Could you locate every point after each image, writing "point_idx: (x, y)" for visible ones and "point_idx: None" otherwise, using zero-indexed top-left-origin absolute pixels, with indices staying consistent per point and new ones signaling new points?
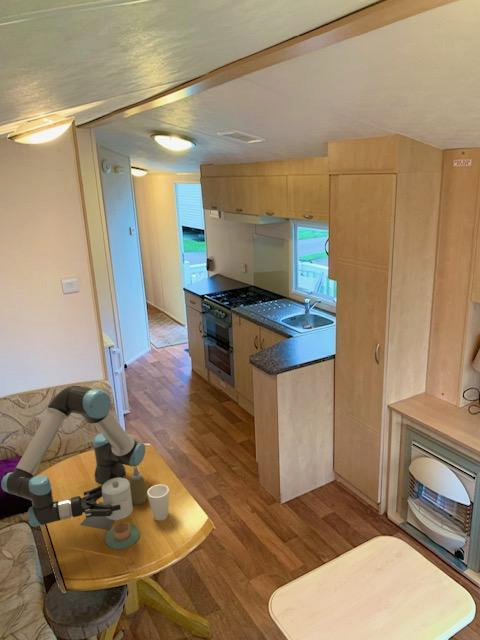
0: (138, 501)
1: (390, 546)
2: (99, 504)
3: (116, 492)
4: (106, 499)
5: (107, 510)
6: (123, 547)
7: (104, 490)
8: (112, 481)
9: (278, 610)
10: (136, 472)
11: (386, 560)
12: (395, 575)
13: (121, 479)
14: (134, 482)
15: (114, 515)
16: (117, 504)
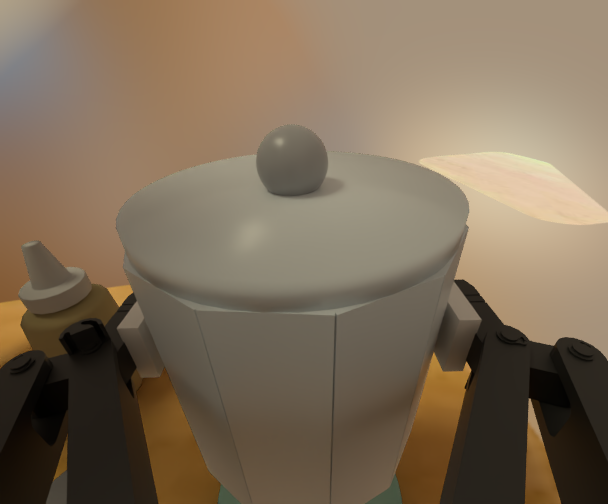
0: (136, 377)
1: (427, 160)
2: (469, 479)
3: (427, 184)
4: (433, 329)
5: (596, 367)
6: (400, 496)
7: (355, 252)
8: (187, 199)
9: (571, 221)
10: (55, 263)
11: (449, 164)
12: (472, 164)
13: (215, 168)
14: (81, 312)
15: (417, 405)
16: (453, 286)
